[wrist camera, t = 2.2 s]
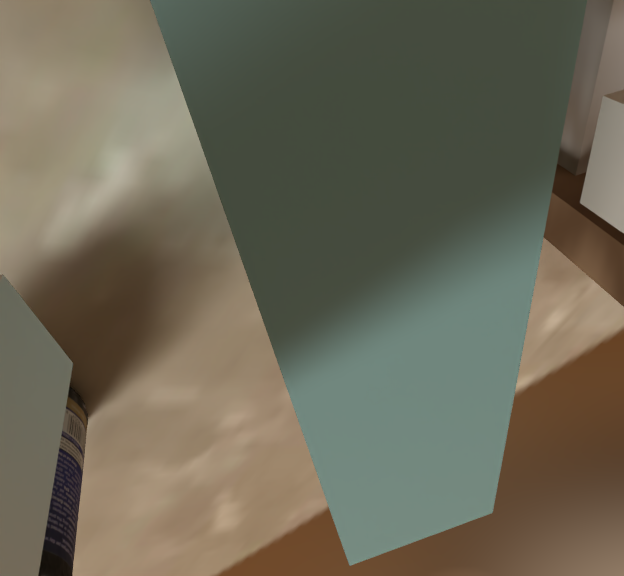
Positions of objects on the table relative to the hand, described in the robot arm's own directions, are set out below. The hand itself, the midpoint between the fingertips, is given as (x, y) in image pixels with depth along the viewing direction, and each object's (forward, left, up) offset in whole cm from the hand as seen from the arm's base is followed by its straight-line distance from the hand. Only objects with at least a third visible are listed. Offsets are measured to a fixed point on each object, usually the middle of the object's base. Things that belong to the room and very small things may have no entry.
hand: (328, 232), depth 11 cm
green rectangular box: (0, 0, -7) cm, 7 cm away
